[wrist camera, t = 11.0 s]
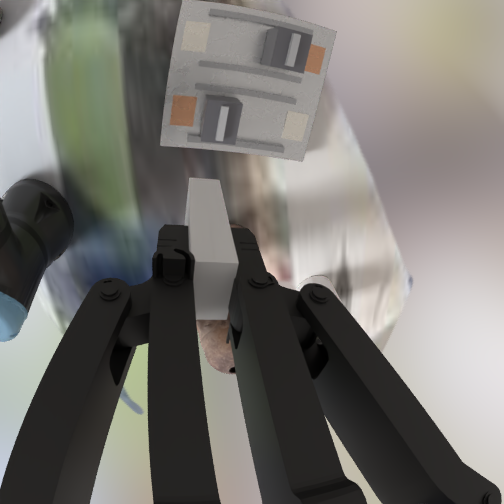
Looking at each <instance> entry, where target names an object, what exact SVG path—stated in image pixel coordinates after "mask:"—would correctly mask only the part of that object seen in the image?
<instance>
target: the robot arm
mask: <svg viewBox="0 0 504 504" xmlns="http://www.w3.org/2000/svg"><path fill="white" fill-rule="evenodd" d="M73 228H74V224H73V217H72V214H71V211H70V208H69V206H68V204H67V203H66V201H65V199H64V198H63V197H62V196H61V194H60V193H59V192H58V191H57V190H55V189H54V188H53V187H51V186H50V185H48V184H46V183H44V182H42V181H38V180H31V179H29V180H22V181H19V182H17V183H16V184H14V185H13V186H12V187H10V189H9V190H8V191H7V192H6V193H5V194H4V195H3V197H2V198H0V342H5V341H9V340H12V339H14V338H15V337H16V336H17V335H18V333H19V332H20V329H21V327H22V325H23V322H24V321H25V320H26V318H27V315H28V312H29V309H30V306H31V304H32V301H33V299H34V296H35V293H36V291H37V288H38V286H39V284H40V281H41V279H42V276H43V274H44V272H45V270H46V268H47V267H48V266H49V265H51V264H52V262H53V261H55V260H56V259H58V258H59V257H60V256H61V255H62V254H63V253H64V252H65V250H66V249H67V247H68V245H69V243H70V241H71V238H72V235H73ZM152 270H153V276H152V277H151V278H150V279H149V280H148V281H146V282H144V283H142V284H139V285H135V286H130V287H129V285H128V284H127V283H126V282H125V281H123V280H120V279H118V278H107V279H102V280H100V281H98V282H96V283H95V284H94V285H93V286H92V288H91V289H90V291H89V292H88V294H87V296H86V297H85V299H84V301H83V302H82V304H81V306H80V308H79V309H78V311H77V313H76V314H75V316H74V318H73V320H72V321H71V323H70V325H69V327H68V329H67V330H66V332H65V334H64V336H63V338H62V340H61V342H60V343H59V346H58V348H57V349H56V351H55V353H54V355H53V357H52V359H51V361H50V363H49V365H48V367H47V369H46V371H45V373H44V375H43V377H42V380H41V382H40V384H39V386H38V388H37V390H36V393H35V395H34V397H33V399H32V402H31V404H30V406H29V408H28V411H27V413H26V416H25V418H24V421H23V423H22V426H21V428H20V431H19V434H18V436H17V439H16V441H15V445H14V447H13V450H12V453H11V455H10V458H9V461H8V464H7V468H6V471H5V474H4V477H3V481H2V485H1V488H0V504H90V499H91V495H92V491H93V487H94V483H95V479H96V475H97V471H98V467H99V464H100V460H101V456H102V453H103V449H104V445H105V442H106V439H107V435H108V432H109V429H110V425H111V422H112V419H113V415H114V412H115V409H116V406H117V403H118V399H119V397H120V394H121V391H122V388H123V385H124V382H125V379H126V376H127V373H128V370H129V367H130V364H131V361H132V359H133V356H134V353H135V350H136V346H138V345H142V344H146V343H149V344H148V345H149V346H148V432H149V453H150V468H151V479H152V491H153V501H154V504H221V502H220V499H219V494H218V488H217V483H216V477H215V471H214V465H213V459H212V453H211V446H210V438H209V432H208V424H207V417H206V409H205V401H204V393H203V385H202V376H201V367H200V356H199V347H198V335H197V324H196V319H198V320H227V317H228V312H229V315H230V324H229V329H228V333H227V338H226V344H229V340H230V342H231V348H232V353H233V359H234V365H235V370H236V376H237V381H238V387H239V392H240V397H241V402H242V407H243V413H244V418H245V423H246V428H247V433H248V438H249V443H250V447H251V452H252V457H253V461H254V466H255V471H256V475H257V479H258V484H259V489H260V493H261V498H262V504H367V502H366V498H365V496H364V494H363V492H362V490H361V488H360V487H359V486H358V485H357V484H356V483H355V482H353V481H351V480H349V479H347V477H346V476H345V474H344V472H343V470H342V467H341V464H340V461H339V457H338V454H337V451H336V449H335V446H334V442H333V439H332V436H331V434H330V431H329V428H328V425H327V422H326V419H325V417H326V418H327V420H328V421H329V423H330V425H331V426H332V428H333V429H334V431H335V433H336V434H337V436H338V437H339V439H340V440H341V442H342V444H343V445H344V447H345V448H346V450H347V451H348V453H349V454H350V456H351V457H352V459H353V461H354V462H355V463H356V465H357V467H358V468H359V470H360V471H361V473H362V474H363V476H364V478H365V479H366V481H367V482H368V484H369V485H370V487H371V488H372V490H373V491H374V493H375V494H376V496H377V497H378V499H379V500H380V501H381V503H383V504H501V493H500V490H499V488H498V487H497V486H496V485H495V484H493V483H492V482H490V481H489V480H487V479H486V478H484V477H483V476H481V475H480V474H479V473H477V472H476V471H474V470H473V469H471V468H470V467H468V466H467V465H466V464H464V463H463V462H462V461H461V459H460V458H459V456H458V455H457V454H456V452H455V451H454V449H453V448H452V447H451V445H450V444H449V442H448V441H447V439H446V438H445V437H444V435H443V434H442V432H441V431H440V430H439V428H438V427H437V426H436V424H435V423H434V421H433V420H432V419H431V417H430V416H429V415H428V413H427V412H426V411H425V409H424V408H423V407H422V405H421V404H420V403H419V401H418V400H417V398H416V397H415V396H414V395H413V393H412V392H411V391H410V389H409V388H408V387H407V385H406V384H405V383H404V381H403V380H402V379H401V378H400V376H399V375H398V374H397V372H396V371H395V370H394V368H393V367H392V366H391V365H390V363H389V362H388V361H387V359H386V358H385V357H384V356H383V354H382V353H381V352H380V350H379V349H378V348H377V346H376V345H375V344H374V343H373V341H372V340H371V339H370V338H369V336H368V335H367V334H366V333H365V331H364V330H363V329H362V328H361V326H360V325H359V324H358V323H357V321H356V320H355V319H354V318H353V316H352V315H351V314H350V313H349V311H348V310H347V309H346V308H345V306H344V305H343V304H342V303H341V302H340V300H339V299H338V298H337V297H336V295H335V294H334V293H333V292H332V291H331V290H330V289H329V288H327V287H325V286H323V285H321V284H317V283H308V284H306V285H304V286H303V287H302V288H301V290H300V291H296V290H292V289H288V288H285V287H282V286H280V285H279V284H278V282H277V280H276V278H275V277H274V276H273V275H271V274H270V273H268V272H267V271H266V268H265V265H264V262H263V259H262V256H261V253H260V251H259V247H258V245H257V241H256V238H255V236H254V235H253V233H252V232H251V231H250V230H249V229H247V228H232V227H230V224H229V220H228V215H227V211H226V207H225V202H224V198H223V194H222V189H221V185H220V180H215V179H203V178H189V186H188V195H187V205H186V215H185V226H184V225H166V224H165V225H164V226H163V227H162V228H161V229H160V230H159V235H158V244H157V251H156V252H155V253H154V255H153V258H152ZM319 339H320V340H319ZM324 415H325V416H324Z"/></svg>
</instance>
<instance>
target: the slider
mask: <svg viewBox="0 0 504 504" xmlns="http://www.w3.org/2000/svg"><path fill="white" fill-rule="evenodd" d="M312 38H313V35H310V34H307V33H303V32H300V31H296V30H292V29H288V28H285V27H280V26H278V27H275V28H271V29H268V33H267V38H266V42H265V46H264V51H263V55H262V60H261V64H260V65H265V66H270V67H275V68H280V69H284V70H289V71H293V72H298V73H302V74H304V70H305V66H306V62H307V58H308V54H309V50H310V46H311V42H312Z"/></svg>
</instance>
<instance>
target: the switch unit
mask: <svg viewBox="0 0 504 504" xmlns="http://www.w3.org/2000/svg"><path fill="white" fill-rule="evenodd" d="M278 26H280V27H285V28H288V29H292V30H296V31H300V32H303V33H307V34H310V35H313V38H312V42H311V46H310V50H309V54H308V58H307V62H306V66H305V70H304V74H302V73H298V72H293V71H289V70H284V69H280V68H275V67H270V66H265V65H260V64H261V60H262V55H263V51H264V46H265V42H266V38H267V33H268V29H271V28H275V27H278ZM335 36H336V31H334V30H330V29H328V28H325V27H322V26H319V25H316V24H312V23H309V22H306V21H302V20H299V19H295V18H292V17H288V16H284V15H280V14H276V13H271V12H267V11H262V10H258V9H253V8H247V7H242V6H236V5H230V4H223V3H215V2H207V1H197V0H183V1H182V5H181V10H180V14H179V19H178V24H177V29H176V34H175V39H174V44H173V50H172V56H171V62H170V68H169V74H168V81H167V88H166V96H165V103H164V112H163V120H162V130H161V140H160V146H171V147H185V148H198V149H209V150H219V151H229V152H238V153H246V154H254V155H261V156H269V157H276V158H282V159H289V160H295V161H301V162H303V159H304V155H305V152H306V148H307V144H308V141H309V137H310V133H311V129H312V126H313V122H314V118H315V114H316V111H317V107H318V103H319V99H320V95H321V92H322V88H323V84H324V80H325V76H326V72H327V68H328V64H329V60H330V56H331V52H332V48H333V44H334V40H335ZM206 94H208V95H217V96H225V97H232V98H237V99H238V100H239V101H240V102H241V103H242V104H243V108H242V113H241V118H240V123H239V128H238V133H237V138H236V144H235V145H231V144H222V143H212V142H201V138H200V126H201V119H202V113H203V107H204V101H205V95H206Z"/></svg>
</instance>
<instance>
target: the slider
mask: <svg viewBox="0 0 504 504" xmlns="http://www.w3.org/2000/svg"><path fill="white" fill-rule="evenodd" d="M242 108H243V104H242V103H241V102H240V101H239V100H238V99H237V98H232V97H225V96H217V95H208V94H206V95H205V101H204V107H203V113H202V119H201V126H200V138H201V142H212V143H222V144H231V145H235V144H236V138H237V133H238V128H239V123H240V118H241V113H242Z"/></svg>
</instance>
